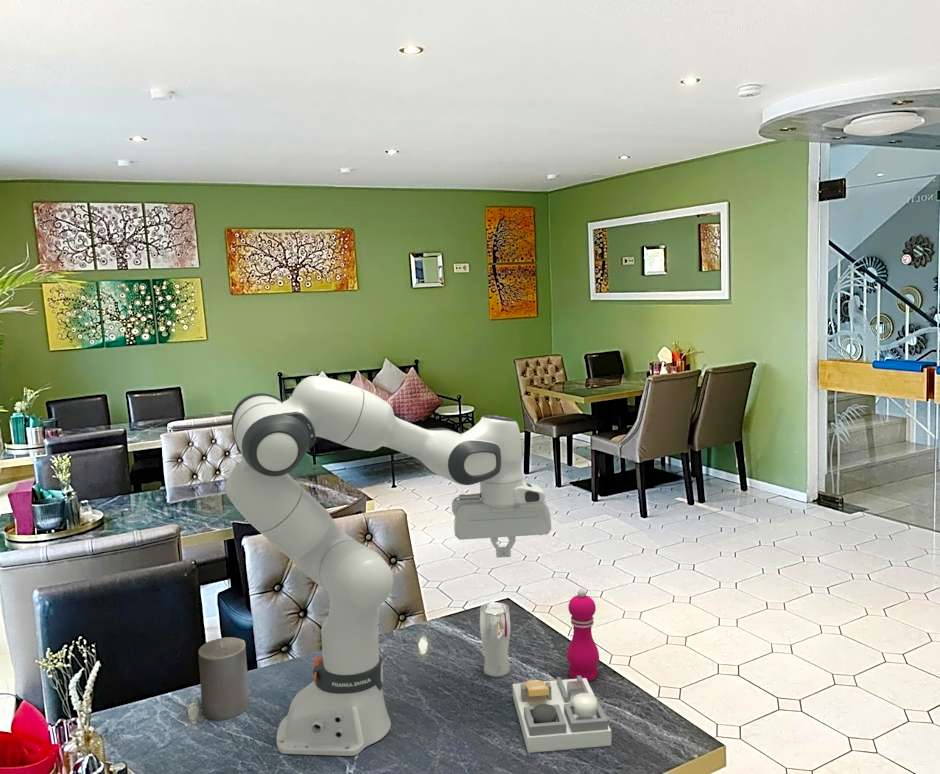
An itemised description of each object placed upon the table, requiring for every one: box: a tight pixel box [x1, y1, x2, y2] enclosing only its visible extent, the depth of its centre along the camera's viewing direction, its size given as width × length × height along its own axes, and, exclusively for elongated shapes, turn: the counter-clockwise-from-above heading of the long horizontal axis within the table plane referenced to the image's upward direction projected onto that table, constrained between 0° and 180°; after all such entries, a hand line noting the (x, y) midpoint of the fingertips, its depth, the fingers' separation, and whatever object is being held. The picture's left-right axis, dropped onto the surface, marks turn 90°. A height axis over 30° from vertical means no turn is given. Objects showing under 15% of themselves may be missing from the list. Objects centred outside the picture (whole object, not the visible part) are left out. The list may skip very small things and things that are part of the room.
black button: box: [533, 704, 556, 724], centre depth 147 cm, size 4×4×2 cm
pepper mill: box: [566, 588, 600, 682], centre depth 170 cm, size 7×7×20 cm
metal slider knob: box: [567, 681, 585, 703], centre depth 155 cm, size 3×3×3 cm
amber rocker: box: [522, 679, 549, 697], centre depth 156 cm, size 4×8×2 cm, turn 5°
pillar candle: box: [198, 636, 250, 721], centre depth 162 cm, size 10×10×15 cm
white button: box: [574, 693, 598, 717], centre depth 147 cm, size 4×4×2 cm
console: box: [511, 676, 612, 754], centre depth 153 cm, size 16×20×6 cm
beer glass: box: [479, 601, 511, 678], centre depth 174 cm, size 7×7×15 cm
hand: (503, 556), depth 160 cm, fingers closed
